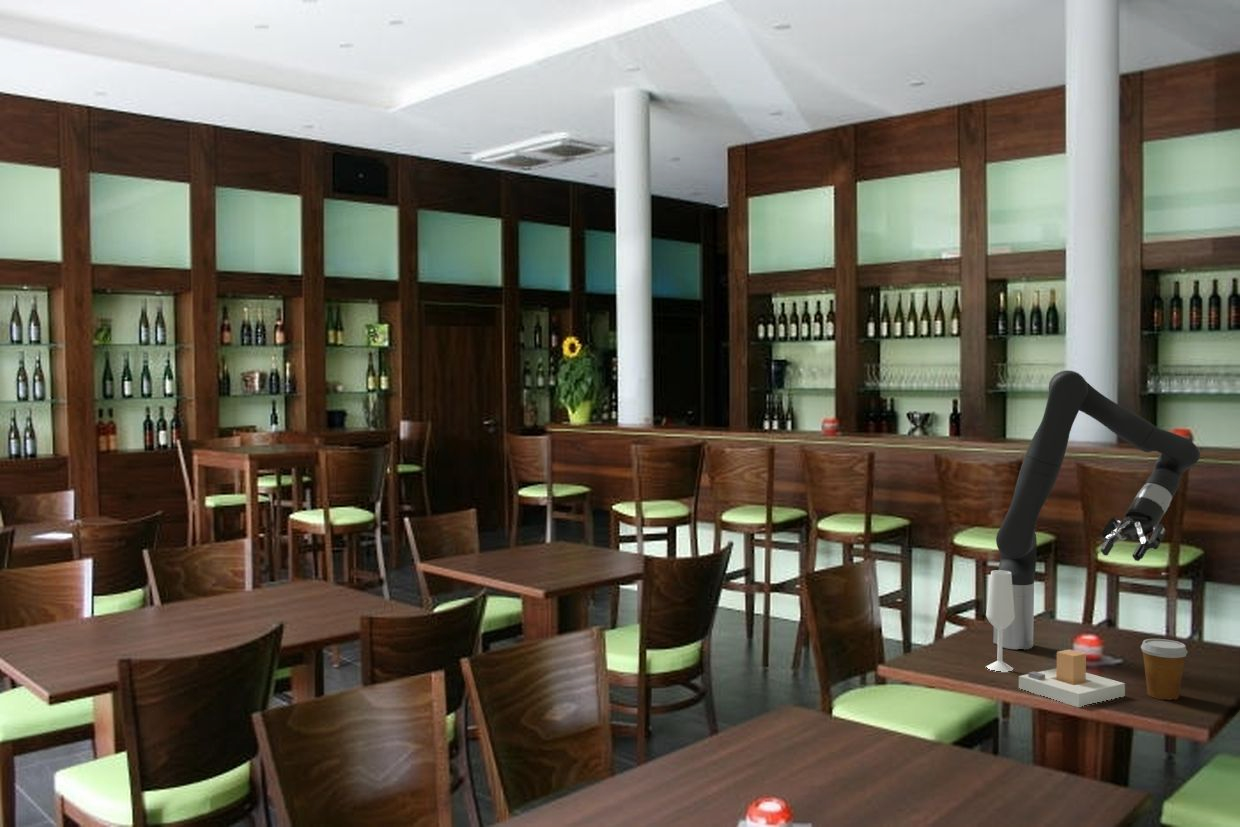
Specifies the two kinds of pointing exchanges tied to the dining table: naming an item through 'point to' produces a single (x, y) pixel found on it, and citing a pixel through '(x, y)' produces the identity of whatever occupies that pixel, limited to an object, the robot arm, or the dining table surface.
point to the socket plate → (1072, 688)
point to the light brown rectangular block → (1071, 667)
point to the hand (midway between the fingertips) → (1119, 556)
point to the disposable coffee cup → (1163, 667)
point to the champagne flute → (1000, 611)
